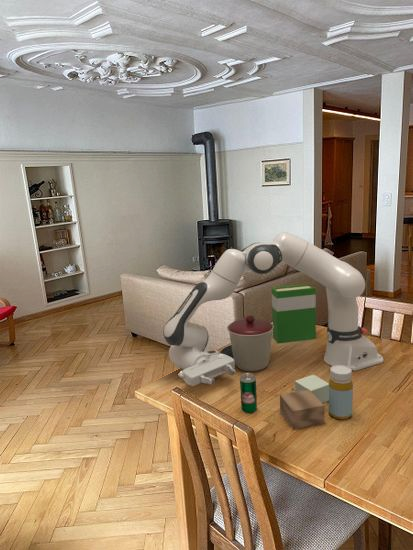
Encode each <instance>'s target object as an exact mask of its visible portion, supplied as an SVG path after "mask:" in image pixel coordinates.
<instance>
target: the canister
mask: <svg viewBox="0 0 413 550" xmlns="http://www.w3.org/2000/svg"><path fill="white" fill-rule="evenodd" d="M226 329H227V331H228V334H229V340H230V345H231V352H232V356H233V357H232V358H233V359H234V361H235V367H237V368H238V369H239V370H242V371H245V372H258V371H261V370H263V369H265V368H266V367H267V366H268V365H269V362H270V358H271V357H270V356H271V348H272V347H271V346H272V339H273V329H274V326H273V322H270V321H267V320H266V319H264V318H258V317H254V315H252V314H248V315H246V316H245V317H243V318H240V319H237V320H234V321H232V322H231V323H229V324H228V325H227V327H226Z"/></svg>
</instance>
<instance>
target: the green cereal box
mask: <svg viewBox="0 0 413 550" xmlns="http://www.w3.org/2000/svg"><path fill="white" fill-rule="evenodd" d="M316 290H317V289H316V287H312V286H311V284H310V283H306V284H304V283H303V284H294V285H286V286H284V285H283V286H274V287H271V305H272V306H271V310H272V311H271V313H272V314H271V315H272V316H271V317H272V318H271V319H272V324H273V326H274V329H273V330H272V339H274V340H275V342H276V343H277V344H278V345H279V344H285V343H286V344H287V343H296V342H304V341H310V340H311V341H312V340H316V339H317V338H316V337H317V335H316V334H317V331H316V326H317V325H316V324H317V323H316V320H317V319H316V318H317V317H316V316H317V315H316V310H317V309H316V296H317V294H316V293H317V291H316Z"/></svg>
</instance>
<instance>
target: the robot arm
mask: <svg viewBox="0 0 413 550" xmlns="http://www.w3.org/2000/svg"><path fill="white" fill-rule="evenodd" d="M281 262H282V263H284V264H285V265H288V266H289V267H292V268H293V269H295V270H296V271H299V272H300V273H302V274H304V275H306V276H308V277H309V278H311V279H312V280H314V281H316V282H317V283H319V284H320V285H322V286H323V287H325V291H326V293H325V294H326V298H327V309H328V310H327V311H328V312H327V315H328V316H327V319H328V320H327V322H328V323H327V327H326V340H327V341H326V342H327V343H326V350H325V354H324V356H323V361H324V362H325V363H326V364H327V365H329V366H331V367H332V366H335V365H344V366H347V367H349V368H351V370H352V371H354V372H355V371H359V370H362V369H366V368H369V367H373V366H376V365H378V364H382V363H384V357H383V356H382V355H381V354H380V353H378V350H377V346H376V345H375V343H374V342H373V341H372V340H370V339H368V338H367V337H366V336H364V335H367V334H368V329H366V328H365V327H361V326H359V306H358V301H357V300H358V299H357V298H359V297H360V296H362V294H363V293H364V292H365V289H366V280H365V278H364V277H363V275H362V273H361V272H360V271H359V270H358V269H356V268H355V267H354V266H353V265H351V264H349V263H348V262H346V261H343V260H340V259H339V258H337V257H335V256H333V255H332V254H330V253H329V252H327V251H325V250H323V249H321V248H319V247H318V246H316V245H315V244H312V243H310V242H309V241H307V240H305V239H303V238H302V237H299V236H296V235H294V234H291V233H288V232H280V233H278V234H277V235H276V236H275V237H274V238H273V239H272V241H271V242H270V243H264V242H263V243H262V242H253V243H251V244H249V245H247V246H246V247H245V248H243V249H242V250H238V249H235V248H229V249H226V250H225V251H224V252H223V253H222V255H221V256H220V257H219V259H218V260H217V262H216V263H215V265H213V269H212V270H211V272H210V273H209V275H208V276H207V277H206V278H205V279H204V280H203V281H200V282H198V283H197V284H196V285H195V286H193V288H192V290H191V291H190V292H189V293H188V295H187V296H186V298H185V299H184V301H182V303H181V305H180V306H179V308H178V309H177V310H176V312H175V313H174V314H173V315H172V317H170V318H169V319H168V320H167V322H166V323H165V325H164V327H163V329H162V330H163V331H162V335H163V338H164V339H165V342H166V343H167V344H168V345H169V346H170V348H169V350H168V358H169V359H170V361H171V362H172V363H173V364H174V365H175V366H177V367H178V368H179V369H181V371H179V373H178V374H177V375H178V378H179V377H180V379H183V381H184V382H185V383H186V384H187V385H188V386H190V387H191V386H192V387H195V386H197V385H199V384H200V385H201V384H207V385H213V384H215V379H214V378H216V377H218V376H222V375H223V374H226V373H227V372H228V375H230V376H234V375H236V370H235V369H236V364H235V361H234V357H232V356H229V355H227V354H224V353H220V351H219V350H209V351H206V348H207V346H208V342H209V339H210V338H209V331H208V329H207V327H205V326H204V325H203V324H202V325H201V324H198V323H194V322H190V320H191V318H192V317H193V316H194V314H195V313H196V311H197V310H198V309H199V307H200V306H201V305H203V304H205V303H208V302H212V301H221V300H225V299H227V298H229V297H231V296H232V295H233V293H234V292H235V290H237V287H238V285H239V284H240V283H239V282H240V281H241V280H242V277H243V276H244V274H245V273H247V272H248V271H252V272H253V273H255V274H257V275H258V274H259V275H266V274H268V273H270V272H272V271H274V269H275V268H276V267H277V266H279V264H280V263H281ZM363 334H364V335H363Z"/></svg>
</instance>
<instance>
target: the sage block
mask: <svg viewBox="0 0 413 550" xmlns="http://www.w3.org/2000/svg"><path fill="white" fill-rule="evenodd" d="M308 389H309V390H310V391H311V392H312V393H313V394H314V395H315V396H316V397H317V398H318V399H319V400H320V401H321V402H322V403H323V404H324V403H327V402H329V382H327V381H325V379H323V378H320V377H318V376H316V375H315V374H311V375H308V376H305V377H302V378H299V379H296V380H294V392H297V391H302V390H308Z"/></svg>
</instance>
